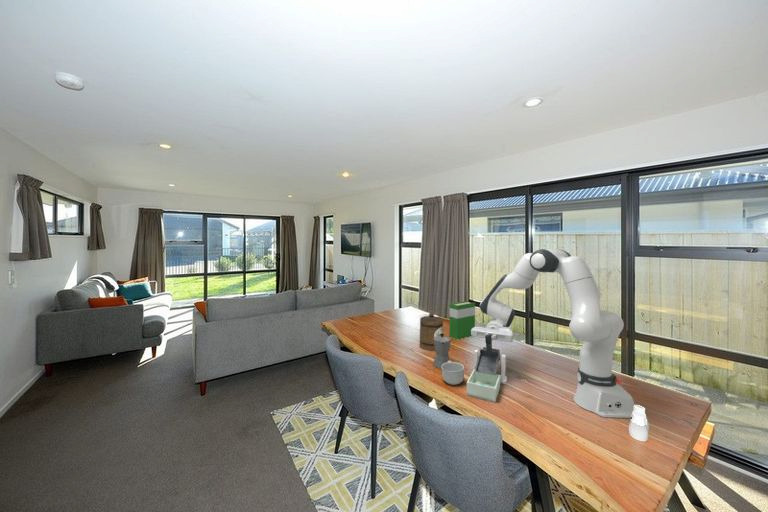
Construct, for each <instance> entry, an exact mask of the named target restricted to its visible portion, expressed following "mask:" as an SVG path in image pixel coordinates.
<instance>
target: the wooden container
mask: <svg viewBox="0 0 768 512" xmlns="http://www.w3.org/2000/svg"><path fill="white" fill-rule="evenodd" d="M419 323H420V325H419V347H420V349H423V350H426V351H435V346H434V338H435V337H438V336H439V335H440V334H444V319H443V318H442V317H440V316H435V314H434V313H433V312H430V313H428V316H421V317H420V319H419Z"/></svg>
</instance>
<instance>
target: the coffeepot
mask: <svg viewBox="0 0 768 512" xmlns="http://www.w3.org/2000/svg"><path fill="white" fill-rule="evenodd" d="M451 339H452V338H451V337H449V336H448V337H447V336H444V333H443V334H440V335H439V336H438V337H435V338H434V346H435V350H434V351H435V354H434V360H433V367H435V368H436V369H438V370H439V369H440V370H442V368H441V366H442V364H444V363H446V362H448V361H451V360H450V355H449V351H450V346H451Z"/></svg>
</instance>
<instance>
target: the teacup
mask: <svg viewBox="0 0 768 512" xmlns="http://www.w3.org/2000/svg"><path fill="white" fill-rule="evenodd" d="M441 368H442V369H441V375H442V376H441V377H442V379H443V381H444V382H445V383H447V384H448V385H451V386H455V385H456V386H457V385H460V384H461V383H462V382H463V381H464V377H465V366H464V364H462V363H460V362H456V361H452V360H450V361H448V362H446V363H444V364H442V366H441Z"/></svg>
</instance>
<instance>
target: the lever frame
mask: <svg viewBox="0 0 768 512" xmlns="http://www.w3.org/2000/svg"><path fill="white" fill-rule="evenodd" d="M473 353H474V354H473V356H474V357H473V370H475V367H476V364H477V360H478V357H479V349H475V350H474V352H473ZM506 359H507V357H506V354H501V359H500V361H501V367H500V368H501V371H500V374H497V373H496V374H497V375H500V384H504V385H506V384H507V380H508V376H507V375H506V364H507V363H506V362H507V361H506Z"/></svg>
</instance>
